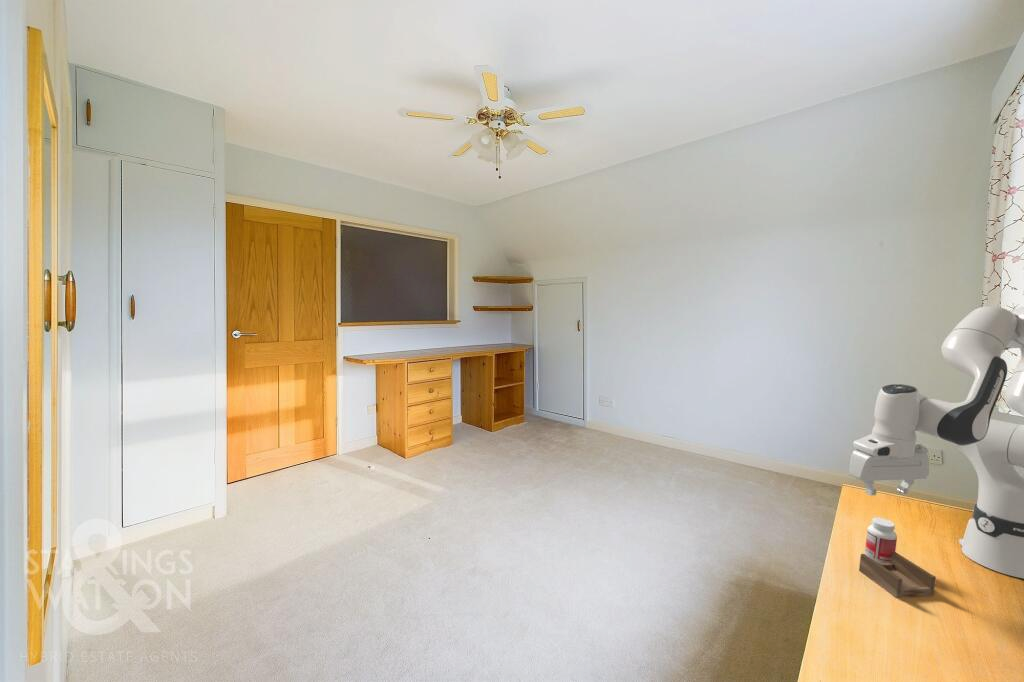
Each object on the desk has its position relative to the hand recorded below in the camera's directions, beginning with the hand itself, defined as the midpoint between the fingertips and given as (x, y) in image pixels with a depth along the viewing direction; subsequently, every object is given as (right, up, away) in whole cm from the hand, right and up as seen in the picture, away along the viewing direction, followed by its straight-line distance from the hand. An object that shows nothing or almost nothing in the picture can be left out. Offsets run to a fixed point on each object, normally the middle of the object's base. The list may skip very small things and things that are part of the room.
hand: (886, 493), depth 115 cm
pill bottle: (0, -19, +2) cm, 19 cm away
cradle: (-4, -20, -7) cm, 22 cm away
